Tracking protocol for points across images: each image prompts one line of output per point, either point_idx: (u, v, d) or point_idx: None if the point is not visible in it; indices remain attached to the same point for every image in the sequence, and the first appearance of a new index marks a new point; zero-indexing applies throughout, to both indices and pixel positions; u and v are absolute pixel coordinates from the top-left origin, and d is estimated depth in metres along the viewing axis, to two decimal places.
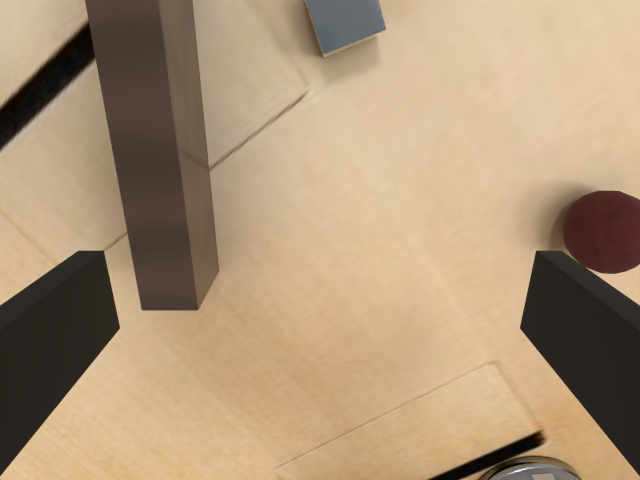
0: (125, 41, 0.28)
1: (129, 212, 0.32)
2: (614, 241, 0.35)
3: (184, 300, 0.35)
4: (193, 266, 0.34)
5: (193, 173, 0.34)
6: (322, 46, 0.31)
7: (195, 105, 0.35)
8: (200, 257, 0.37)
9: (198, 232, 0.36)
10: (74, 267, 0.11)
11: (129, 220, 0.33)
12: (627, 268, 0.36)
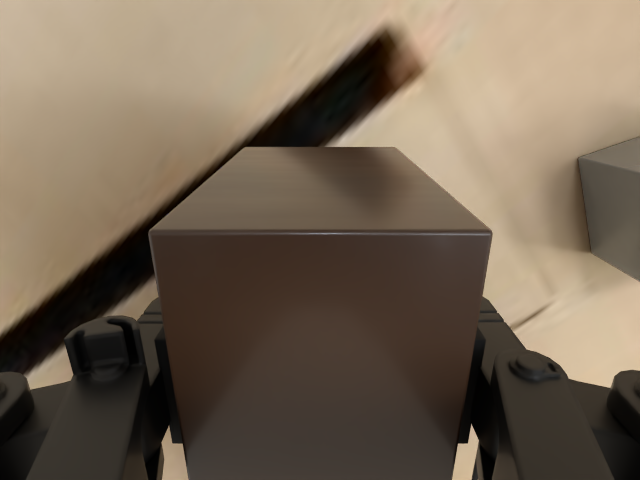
0: (309, 464, 0.07)
1: None
2: None
3: None
4: None
5: None
6: None
7: None
8: None
9: None
10: None
11: None
12: None
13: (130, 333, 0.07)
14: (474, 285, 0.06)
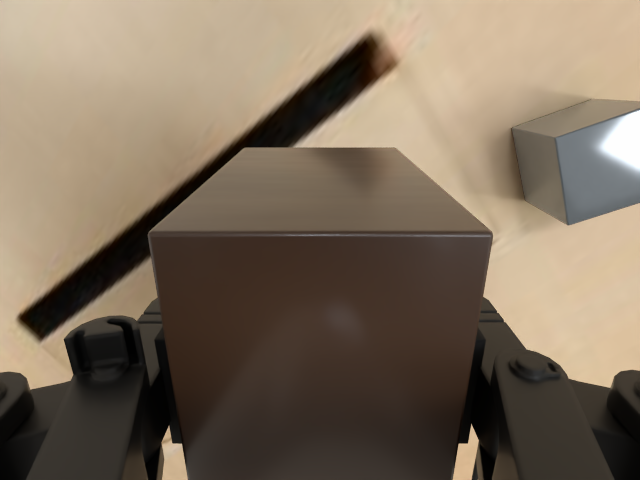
0: (309, 466, 0.07)
1: None
2: None
3: None
4: None
5: None
6: (568, 216, 0.22)
7: None
8: None
9: None
10: None
11: None
12: None
13: (130, 333, 0.07)
14: (474, 286, 0.06)
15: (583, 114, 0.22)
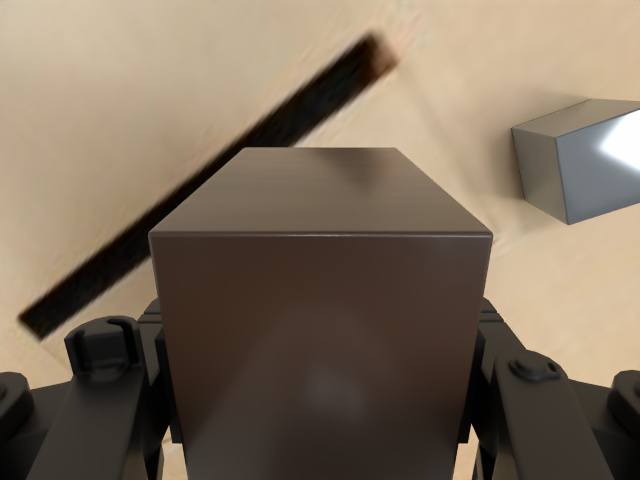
0: (309, 466, 0.07)
1: None
2: None
3: None
4: None
5: None
6: (568, 216, 0.22)
7: None
8: None
9: None
10: None
11: None
12: None
13: (130, 333, 0.07)
14: (475, 286, 0.06)
15: (583, 114, 0.22)
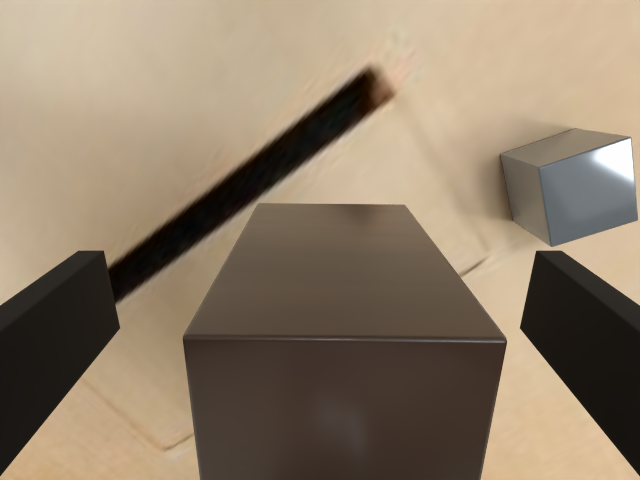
0: None
1: None
2: None
3: None
4: None
5: None
6: (551, 238, 0.24)
7: None
8: None
9: None
10: (74, 267, 0.11)
11: None
12: None
13: None
14: (489, 385, 0.06)
15: (565, 144, 0.24)
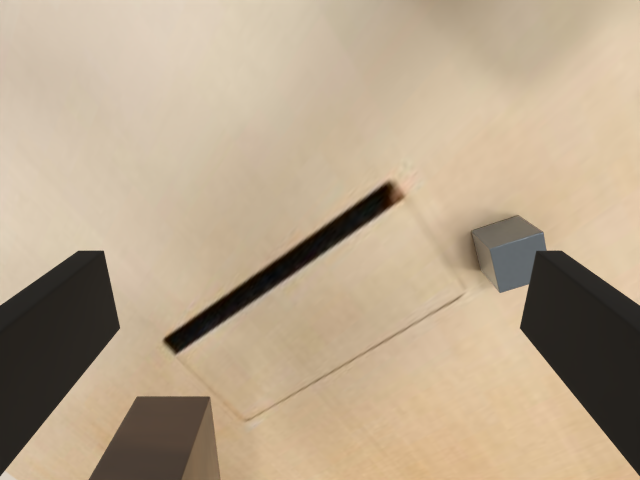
0: None
1: None
2: None
3: None
4: None
5: None
6: (499, 288, 0.39)
7: None
8: None
9: None
10: (74, 267, 0.11)
11: None
12: None
13: None
14: None
15: (508, 230, 0.40)
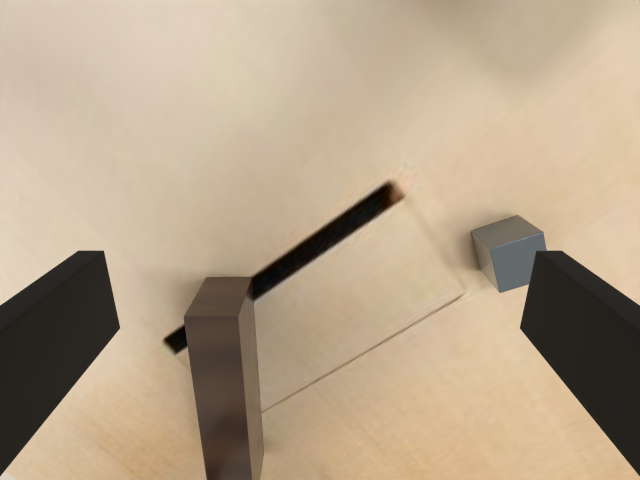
0: (213, 358, 0.39)
1: (207, 454, 0.43)
2: None
3: None
4: None
5: (253, 413, 0.45)
6: (499, 288, 0.39)
7: (253, 358, 0.46)
8: (255, 467, 0.47)
9: (254, 452, 0.46)
10: (74, 267, 0.11)
11: (206, 458, 0.43)
12: None
13: None
14: (236, 324, 0.37)
15: (508, 230, 0.40)
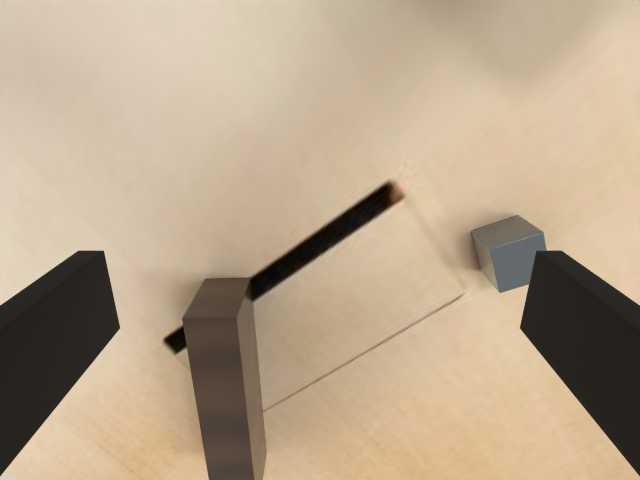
0: (212, 359, 0.39)
1: (209, 455, 0.43)
2: None
3: None
4: None
5: (254, 413, 0.45)
6: (499, 288, 0.39)
7: (253, 359, 0.46)
8: (258, 468, 0.47)
9: (256, 452, 0.46)
10: (74, 267, 0.11)
11: (208, 459, 0.43)
12: None
13: None
14: (235, 325, 0.37)
15: (508, 230, 0.40)
